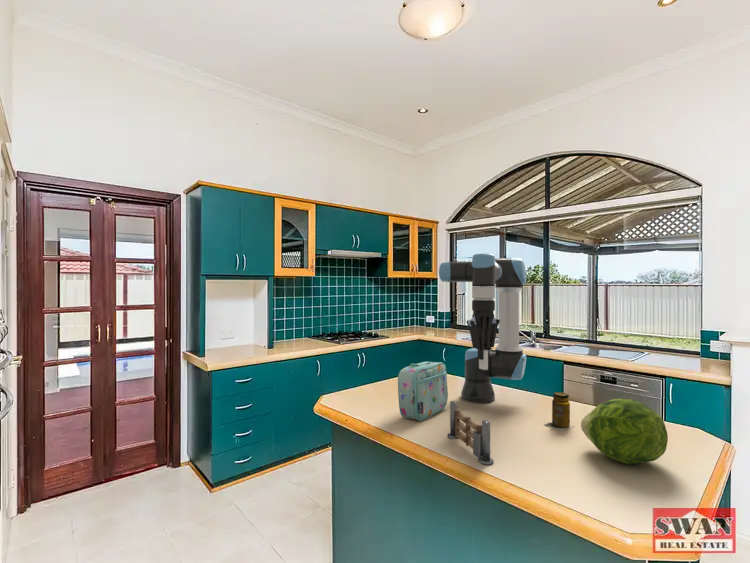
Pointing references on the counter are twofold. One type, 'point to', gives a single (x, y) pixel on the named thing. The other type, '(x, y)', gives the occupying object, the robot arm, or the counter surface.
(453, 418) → the hinge post
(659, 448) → the lettuce
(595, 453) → the counter surface
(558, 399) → the condiment
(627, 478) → the counter surface
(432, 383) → the lunch box
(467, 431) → the gate
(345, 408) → the counter surface
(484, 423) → the post
